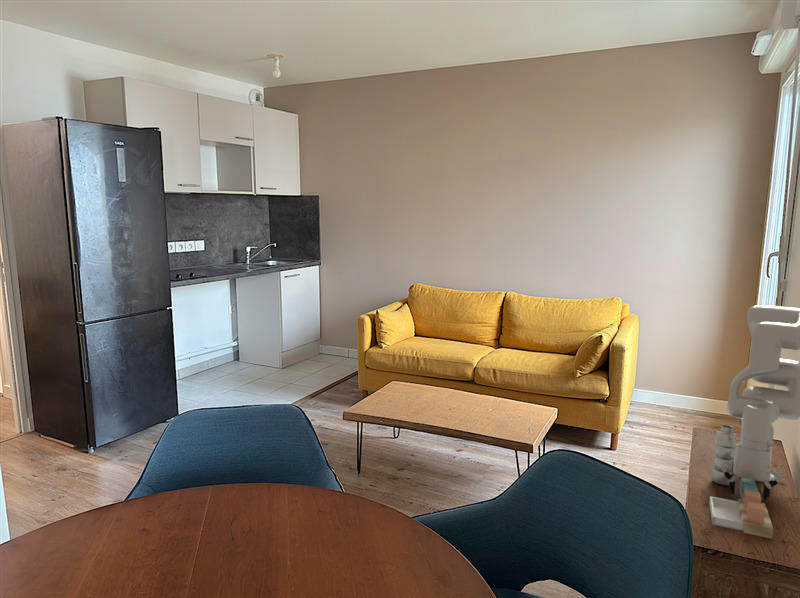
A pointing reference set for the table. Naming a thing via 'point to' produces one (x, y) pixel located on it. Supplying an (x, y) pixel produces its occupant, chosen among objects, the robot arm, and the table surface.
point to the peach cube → (755, 512)
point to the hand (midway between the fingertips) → (748, 495)
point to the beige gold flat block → (755, 523)
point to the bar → (747, 486)
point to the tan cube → (751, 497)
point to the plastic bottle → (724, 453)
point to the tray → (725, 513)
